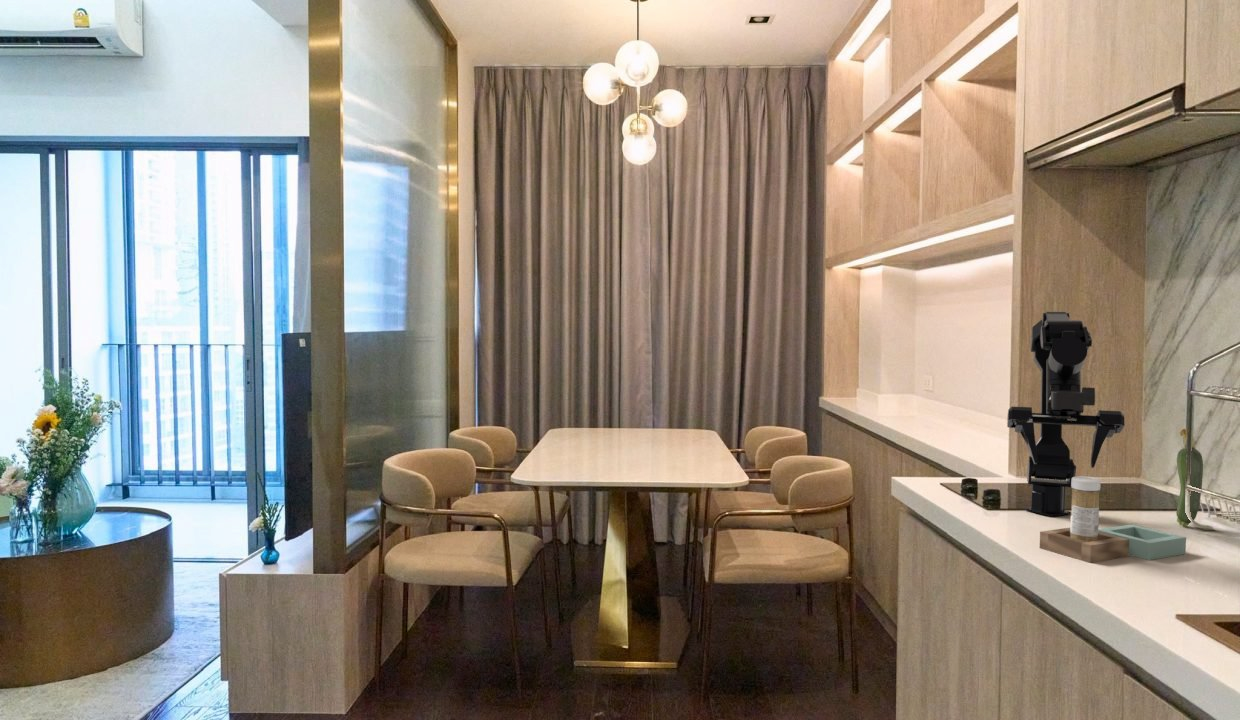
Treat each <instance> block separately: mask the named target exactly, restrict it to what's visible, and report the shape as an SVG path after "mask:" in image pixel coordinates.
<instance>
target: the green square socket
mask: <svg viewBox="0 0 1240 720" xmlns="http://www.w3.org/2000/svg"><path fill="white" fill-rule="evenodd" d="M1098 532H1102V533H1106V534H1110V535H1114V536H1118V537H1122V538H1126V539H1129V556H1132V557H1136V558H1140V559H1144V560H1147V561H1151V560H1157V559H1162V558H1163V559H1164V558H1169V557H1175V556H1180V555H1184V554H1185V555H1186V554H1187V552H1186V551H1187V550H1186V549H1187V537H1186V536H1183V535H1178V534H1174V533H1170V532H1165V531H1162V530H1158V529H1152V528H1148V527H1144V526H1140V525H1136V524H1126V525H1121V526H1120V525H1119V526H1112V527H1105V528H1098Z"/></svg>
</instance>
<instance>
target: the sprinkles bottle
mask: <svg viewBox="0 0 1240 720" xmlns="http://www.w3.org/2000/svg"><path fill="white" fill-rule="evenodd" d="M1071 487H1072V488H1071V505H1070V506H1071V509H1070V512H1071V514H1070V525H1069V528H1070V532H1071V537H1072V538H1075V539H1079V540H1083V541H1087V542H1091V541H1097V537H1098V529H1099V523H1100V522H1099V521H1100V519H1099V517H1100V514H1099V513H1100V505H1099V504H1100V503H1099V502H1100V499H1099V498H1100V492H1101V491H1100V490H1101V479H1099V478H1096V477H1092V476H1086V475H1085V476H1084V475H1082V476H1080V475H1075V477H1072V479H1071Z"/></svg>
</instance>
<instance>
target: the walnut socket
mask: <svg viewBox="0 0 1240 720" xmlns="http://www.w3.org/2000/svg"><path fill="white" fill-rule="evenodd" d="M1039 549H1042V550H1046V551H1048V550H1049V552H1053V553H1056V554H1059V555H1062V556H1063V555H1064V556H1067V557H1069V558H1074V559H1076V560H1079V561H1083V562H1087V563H1096V562H1103V561H1108V560H1114V559H1119V558H1120V559H1121V558H1126V557H1129V556H1130V555H1129V539H1126V538H1122V537H1118V536H1114V535H1110V534H1106V533H1102V532H1098V537H1097V541H1091V542H1087V541H1083V540H1079V539H1075V538H1072V537H1071V532H1070V527H1065V528H1056V529H1049V530H1041V531H1039Z"/></svg>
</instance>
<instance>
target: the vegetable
mask: <svg viewBox="0 0 1240 720" xmlns="http://www.w3.org/2000/svg"><path fill="white" fill-rule="evenodd" d="M1187 430H1188V429H1186V428H1183V429H1181V430H1180V432H1179V435H1180V436H1181V437H1182V443H1183V445H1184V447H1183V448H1181V449H1180V450H1179V451H1178V452H1177V455H1176V456H1177V457H1176V466H1177V467H1176V468H1177V474H1178V478H1179V479H1178V480H1179V483H1180V492H1179V496H1178V501H1177V507H1176V515H1175V516H1176V517H1177V518H1176V522H1177V523H1179V526H1183V527H1184V528H1185V527H1187V526H1189V525H1190V524H1191V523H1192V522H1191V521H1190V520H1189V519H1188V517H1187V515H1186V513H1185V479H1186V459H1187V457H1186V455H1187V448H1186V441H1187ZM1203 477H1204V460H1203V456H1202V453H1201V452H1200V451H1199V450H1198V449H1196V442H1195V439H1194V436H1193V435H1192V451H1191V474H1190V485H1191V486H1192V487H1196V488H1199V489H1201V490H1202V489H1203ZM1190 495H1191V496H1190V512H1191V517H1192V519H1193V520H1194V521H1195V520H1196V518H1197V515H1198V512H1199V508H1200V504H1201V498H1202V497H1201V496H1202V492H1201V493H1198V492H1195V491H1191V494H1190Z"/></svg>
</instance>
